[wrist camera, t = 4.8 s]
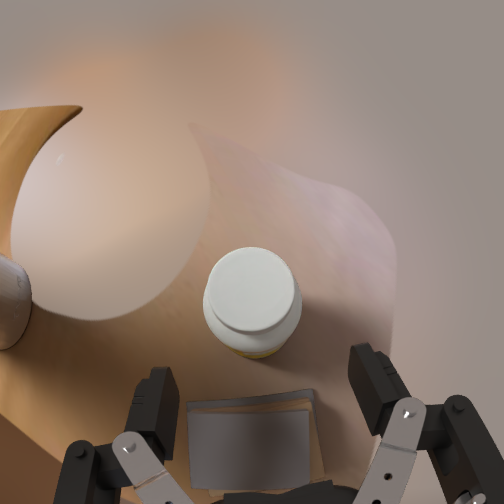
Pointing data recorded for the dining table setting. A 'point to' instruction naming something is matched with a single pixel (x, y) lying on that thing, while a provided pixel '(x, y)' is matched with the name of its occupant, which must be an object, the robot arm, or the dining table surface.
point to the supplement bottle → (252, 302)
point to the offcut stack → (254, 443)
